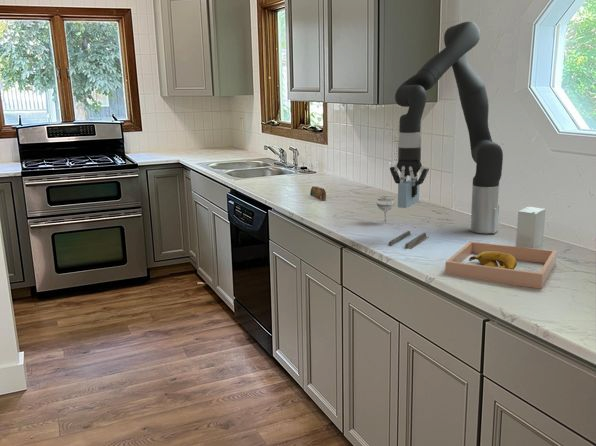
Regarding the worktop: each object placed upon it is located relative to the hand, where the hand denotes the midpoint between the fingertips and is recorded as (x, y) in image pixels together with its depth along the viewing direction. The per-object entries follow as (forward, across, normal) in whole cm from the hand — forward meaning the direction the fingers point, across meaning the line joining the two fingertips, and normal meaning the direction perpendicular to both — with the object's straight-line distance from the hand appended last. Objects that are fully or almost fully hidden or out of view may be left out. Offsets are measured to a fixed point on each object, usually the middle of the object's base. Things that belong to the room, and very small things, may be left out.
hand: (408, 196), depth 196 cm
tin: (+18, +66, -53) cm, 86 cm away
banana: (+18, -32, +19) cm, 41 cm away
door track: (+17, 0, 0) cm, 17 cm away
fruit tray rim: (+17, -35, +15) cm, 42 cm away
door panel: (+3, 0, 0) cm, 3 cm away
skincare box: (+17, -39, -5) cm, 43 cm away
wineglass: (+17, +17, -20) cm, 31 cm away
